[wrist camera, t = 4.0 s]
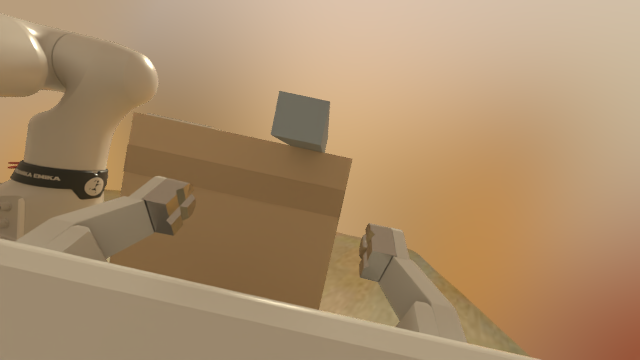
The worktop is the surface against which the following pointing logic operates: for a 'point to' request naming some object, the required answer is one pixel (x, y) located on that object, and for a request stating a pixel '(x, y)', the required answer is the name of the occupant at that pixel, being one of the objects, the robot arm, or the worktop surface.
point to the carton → (238, 209)
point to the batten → (301, 121)
